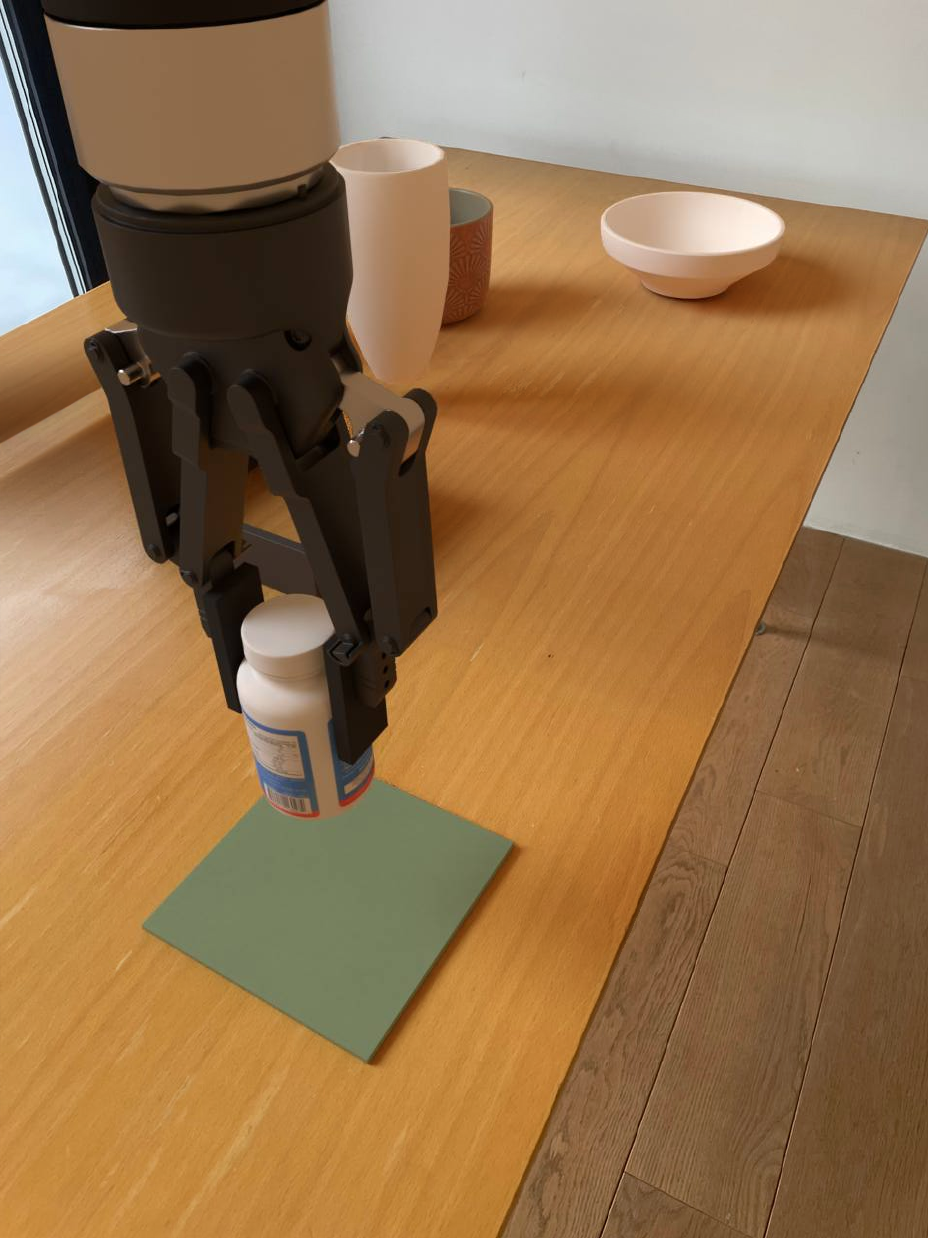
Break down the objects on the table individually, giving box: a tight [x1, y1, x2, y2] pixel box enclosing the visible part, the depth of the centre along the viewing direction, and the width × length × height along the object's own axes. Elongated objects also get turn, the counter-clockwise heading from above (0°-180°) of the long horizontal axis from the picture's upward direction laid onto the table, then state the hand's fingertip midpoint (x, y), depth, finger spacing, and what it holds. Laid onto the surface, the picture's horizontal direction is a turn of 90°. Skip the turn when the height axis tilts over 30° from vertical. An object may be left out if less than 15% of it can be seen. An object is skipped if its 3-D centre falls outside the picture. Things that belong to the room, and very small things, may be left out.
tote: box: [166, 455, 358, 600], centre depth 77 cm, size 17×14×4 cm
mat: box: [141, 777, 515, 1065], centre depth 53 cm, size 14×14×1 cm
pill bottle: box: [237, 594, 376, 820], centre depth 45 cm, size 6×5×10 cm
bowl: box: [600, 190, 787, 299], centre depth 111 cm, size 20×20×7 cm
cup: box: [329, 138, 450, 385], centre depth 86 cm, size 10×10×22 cm
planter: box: [441, 186, 494, 325], centre depth 105 cm, size 12×12×11 cm
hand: (307, 716), depth 45 cm, fingers closed on pill bottle, 5 cm apart
